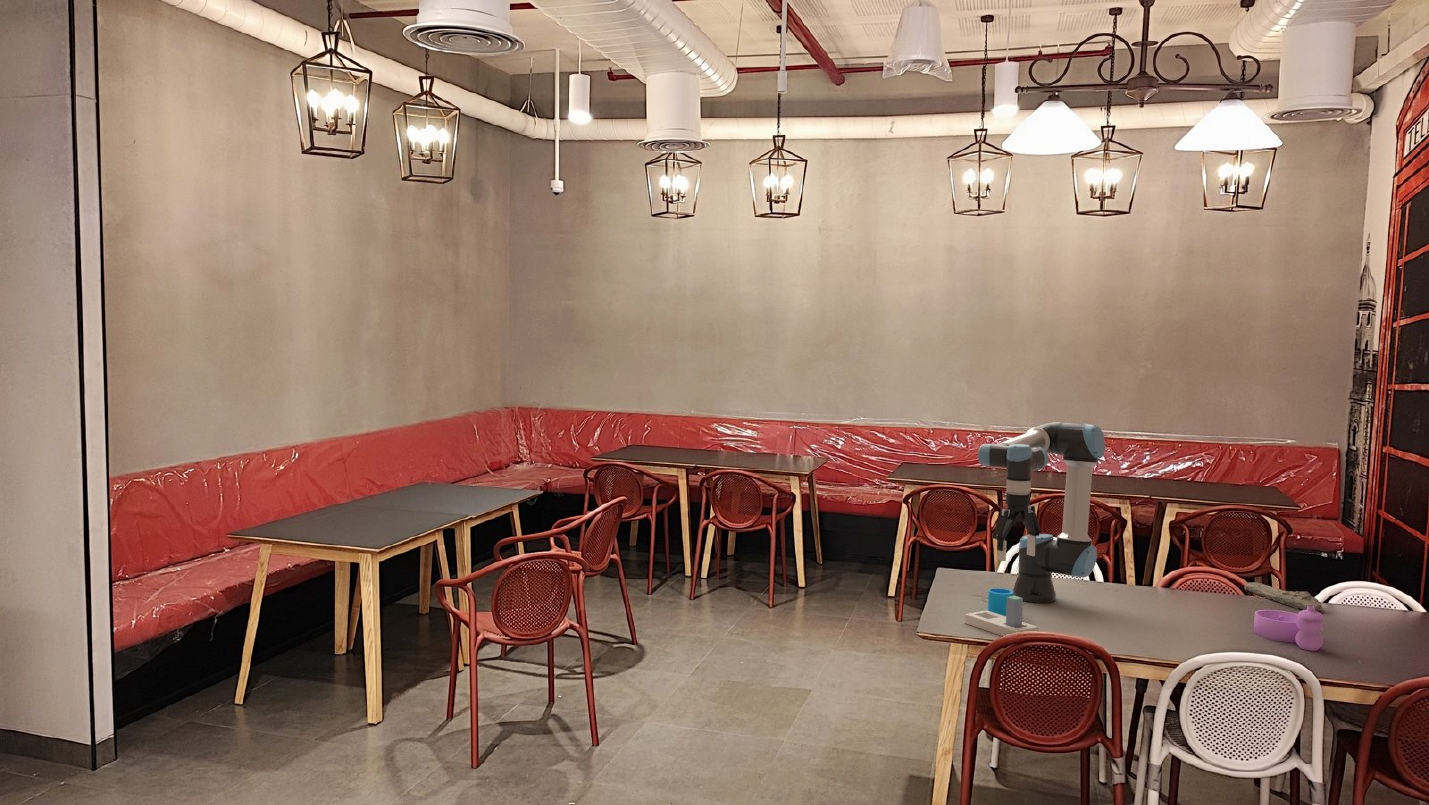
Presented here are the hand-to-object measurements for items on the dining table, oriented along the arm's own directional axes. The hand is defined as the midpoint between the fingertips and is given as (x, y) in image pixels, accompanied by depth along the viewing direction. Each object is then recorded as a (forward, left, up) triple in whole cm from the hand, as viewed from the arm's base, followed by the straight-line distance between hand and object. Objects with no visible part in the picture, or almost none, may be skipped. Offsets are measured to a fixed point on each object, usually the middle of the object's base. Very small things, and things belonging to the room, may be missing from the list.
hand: (1016, 558), depth 329 cm
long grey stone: (-119, +20, -24) cm, 123 cm away
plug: (+3, +3, -24) cm, 24 cm away
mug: (-12, -17, -24) cm, 32 cm away
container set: (-72, +49, -24) cm, 90 cm away
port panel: (+3, -3, -24) cm, 24 cm away
